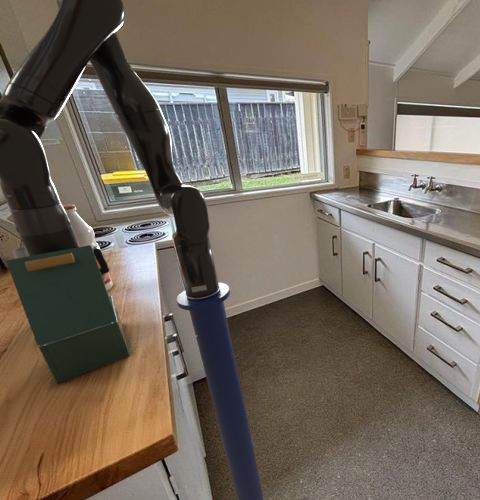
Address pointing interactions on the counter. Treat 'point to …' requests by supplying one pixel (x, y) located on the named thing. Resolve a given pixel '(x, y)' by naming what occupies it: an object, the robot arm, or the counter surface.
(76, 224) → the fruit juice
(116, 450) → the counter surface
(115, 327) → the bin
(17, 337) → the counter surface
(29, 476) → the counter surface
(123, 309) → the counter surface
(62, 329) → the bin lid
